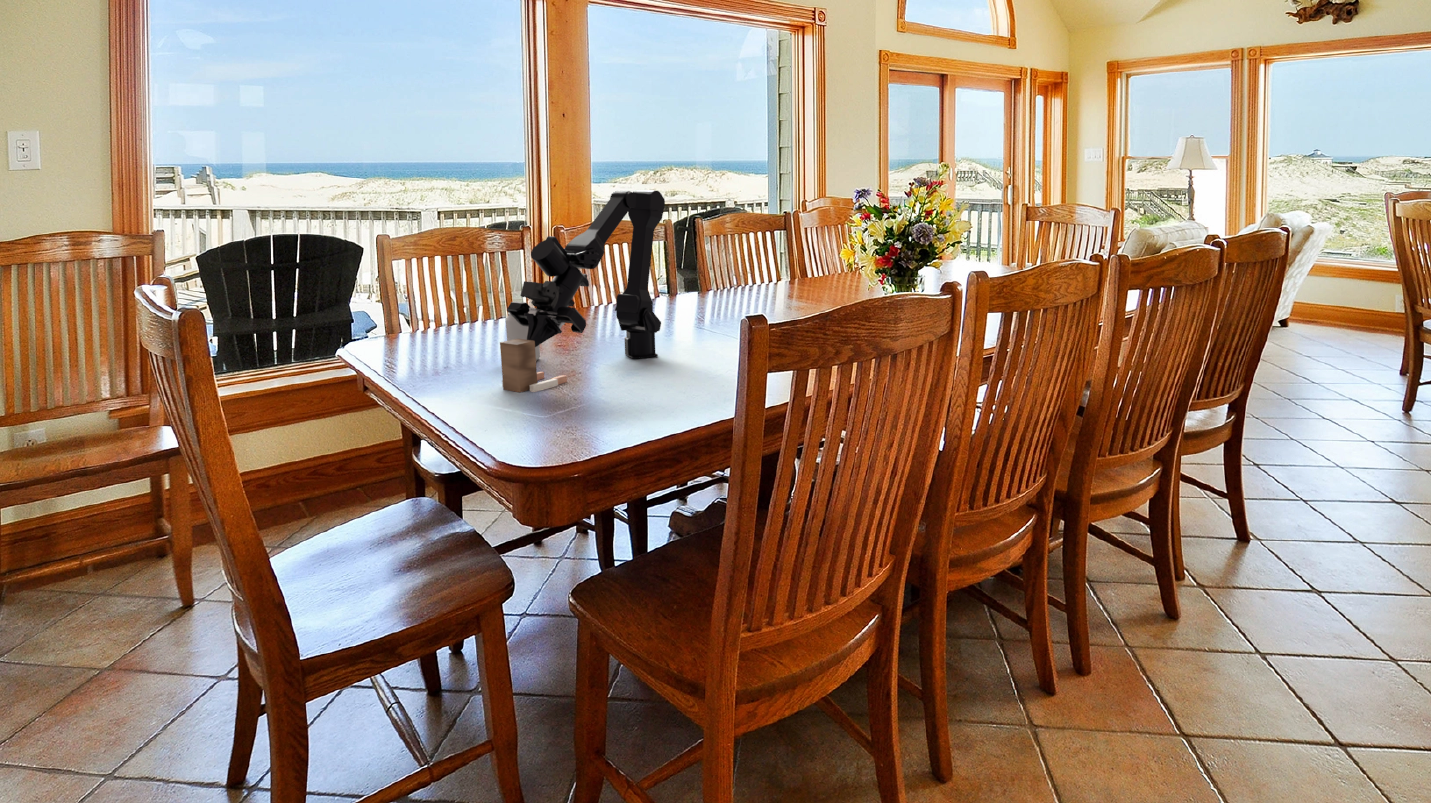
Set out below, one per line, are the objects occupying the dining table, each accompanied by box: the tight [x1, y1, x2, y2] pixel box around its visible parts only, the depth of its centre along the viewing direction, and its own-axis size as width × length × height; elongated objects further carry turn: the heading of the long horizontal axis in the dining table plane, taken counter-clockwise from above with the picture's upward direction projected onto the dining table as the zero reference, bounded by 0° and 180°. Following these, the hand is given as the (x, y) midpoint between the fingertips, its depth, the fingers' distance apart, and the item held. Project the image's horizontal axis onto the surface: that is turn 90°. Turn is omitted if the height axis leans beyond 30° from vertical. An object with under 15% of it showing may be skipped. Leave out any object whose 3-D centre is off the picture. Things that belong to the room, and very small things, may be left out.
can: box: [505, 312, 541, 362], centre depth 227 cm, size 8×8×12 cm
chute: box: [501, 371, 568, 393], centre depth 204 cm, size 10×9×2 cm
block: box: [499, 339, 538, 393], centre depth 199 cm, size 5×5×10 cm
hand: (527, 349), depth 201 cm, fingers closed, pressing on block
